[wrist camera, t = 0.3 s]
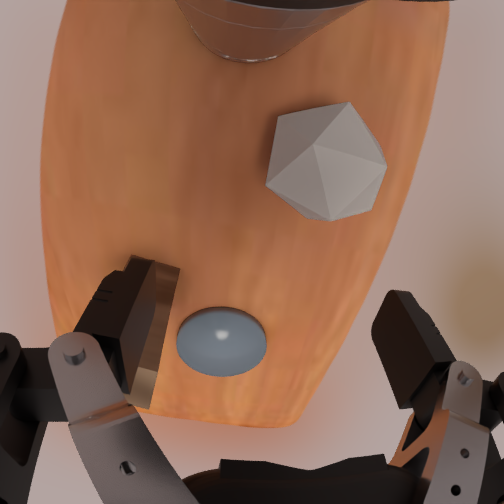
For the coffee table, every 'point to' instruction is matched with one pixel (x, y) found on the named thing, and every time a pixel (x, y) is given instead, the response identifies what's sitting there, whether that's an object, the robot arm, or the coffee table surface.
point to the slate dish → (221, 341)
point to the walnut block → (154, 337)
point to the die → (326, 162)
